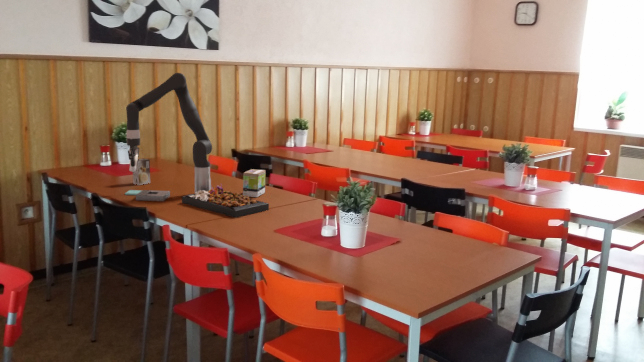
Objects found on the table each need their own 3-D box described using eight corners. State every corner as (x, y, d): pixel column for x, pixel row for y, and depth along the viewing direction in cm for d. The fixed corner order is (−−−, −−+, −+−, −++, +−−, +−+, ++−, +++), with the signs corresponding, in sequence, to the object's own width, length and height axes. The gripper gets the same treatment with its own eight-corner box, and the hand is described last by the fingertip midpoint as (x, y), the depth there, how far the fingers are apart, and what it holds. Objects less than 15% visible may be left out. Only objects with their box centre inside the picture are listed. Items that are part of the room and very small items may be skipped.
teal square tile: (144, 192, 350) (144, 190, 350) (140, 195, 341) (139, 193, 341) (129, 191, 350) (129, 190, 350) (124, 194, 341) (124, 193, 341)
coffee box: (144, 182, 379) (144, 158, 376) (150, 183, 376) (150, 159, 373) (132, 184, 372) (132, 159, 369) (138, 185, 368) (138, 160, 365)
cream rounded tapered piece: (130, 169, 345) (132, 153, 343) (137, 171, 345) (139, 154, 343) (127, 170, 341) (129, 154, 339) (134, 172, 340) (135, 155, 339)
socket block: (170, 195, 343) (169, 190, 342) (163, 201, 329) (163, 196, 328) (143, 194, 343) (143, 190, 342) (135, 200, 329) (135, 195, 328)
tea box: (258, 197, 346) (258, 173, 343) (242, 196, 348) (242, 172, 345) (265, 192, 361) (265, 169, 358) (250, 191, 363) (250, 168, 360)
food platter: (181, 204, 326) (181, 186, 324) (215, 197, 345) (215, 180, 343) (235, 219, 299) (235, 199, 297) (268, 211, 317) (268, 193, 315)
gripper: (131, 135, 346) (131, 163, 349) (122, 138, 332) (123, 167, 335) (143, 136, 346) (144, 164, 349) (135, 138, 332) (136, 168, 335)
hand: (134, 165), depth 342 cm, fingers closed on cream rounded tapered piece, 4 cm apart
